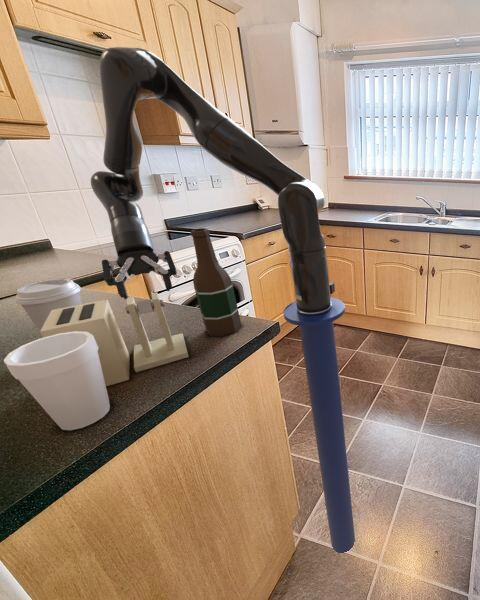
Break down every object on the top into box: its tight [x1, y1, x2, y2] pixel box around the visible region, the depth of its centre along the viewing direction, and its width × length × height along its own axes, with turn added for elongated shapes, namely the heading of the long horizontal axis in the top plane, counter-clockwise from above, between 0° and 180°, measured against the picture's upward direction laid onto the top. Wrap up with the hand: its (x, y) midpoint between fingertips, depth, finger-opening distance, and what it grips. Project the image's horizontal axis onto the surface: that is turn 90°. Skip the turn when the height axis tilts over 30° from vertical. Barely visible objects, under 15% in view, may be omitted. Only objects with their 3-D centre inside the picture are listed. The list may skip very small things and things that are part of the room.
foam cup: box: [3, 331, 111, 431], centre depth 52 cm, size 10×9×13 cm
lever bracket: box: [124, 291, 190, 373], centre depth 69 cm, size 10×9×13 cm
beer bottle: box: [190, 227, 242, 337], centre depth 76 cm, size 8×8×24 cm
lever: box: [135, 299, 166, 315], centre depth 71 cm, size 13×6×2 cm, turn 35°
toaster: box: [39, 299, 131, 387], centre depth 62 cm, size 10×8×13 cm
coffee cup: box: [14, 277, 84, 335], centre depth 70 cm, size 10×10×15 cm
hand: (147, 293), depth 82 cm, fingers open, 8 cm apart
